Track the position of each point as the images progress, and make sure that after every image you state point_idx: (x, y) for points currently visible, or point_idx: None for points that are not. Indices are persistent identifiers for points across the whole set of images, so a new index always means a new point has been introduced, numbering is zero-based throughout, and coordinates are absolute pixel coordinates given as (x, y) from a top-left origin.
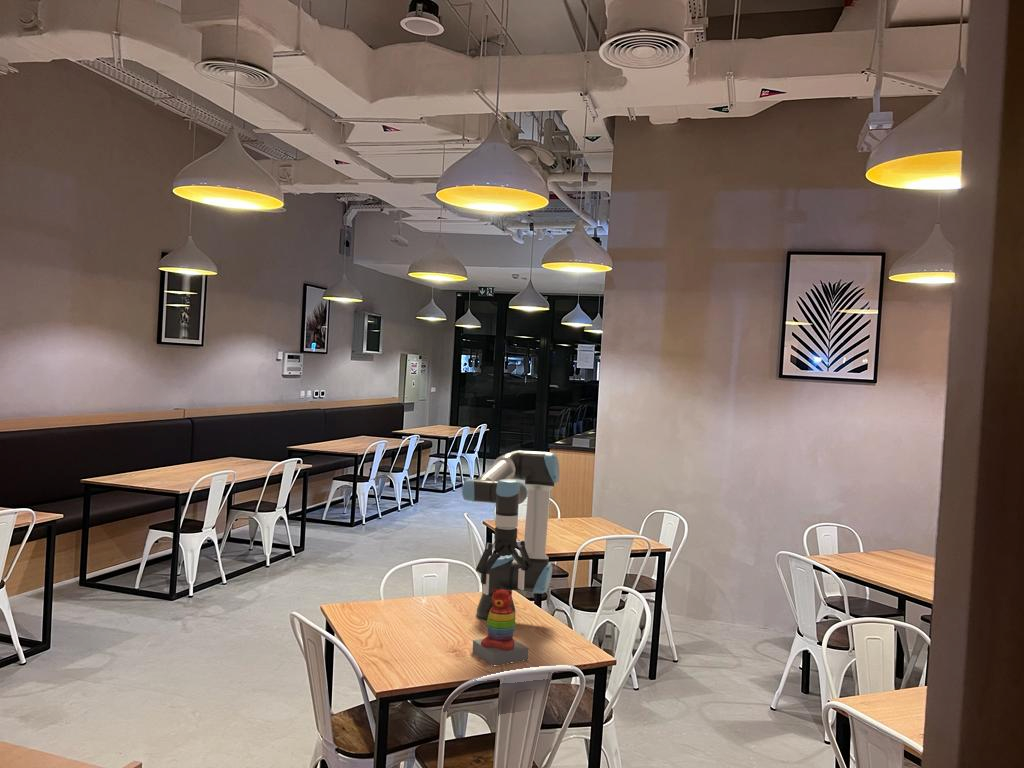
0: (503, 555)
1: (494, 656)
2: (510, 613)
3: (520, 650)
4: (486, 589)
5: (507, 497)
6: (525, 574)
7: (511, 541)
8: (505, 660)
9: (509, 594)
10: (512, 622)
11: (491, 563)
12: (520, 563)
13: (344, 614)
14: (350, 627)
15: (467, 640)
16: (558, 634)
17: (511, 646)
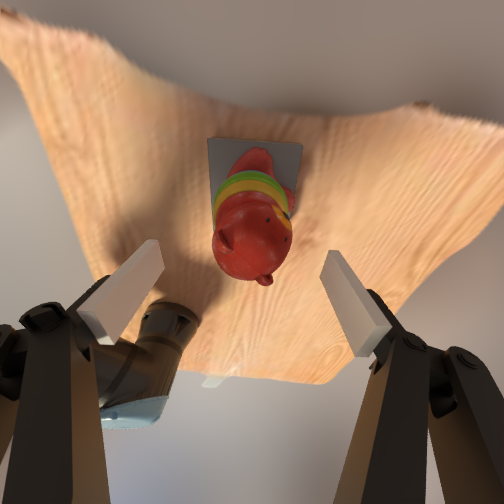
0: None
1: (300, 144)
2: (237, 192)
3: (230, 139)
4: (348, 265)
5: None
6: (90, 294)
7: None
8: (269, 141)
9: (231, 229)
10: (236, 177)
11: (413, 429)
12: (69, 376)
13: (330, 367)
14: None
15: None
16: (99, 229)
17: (251, 150)
